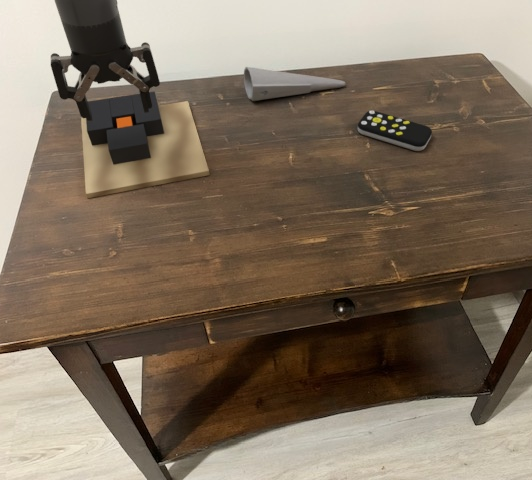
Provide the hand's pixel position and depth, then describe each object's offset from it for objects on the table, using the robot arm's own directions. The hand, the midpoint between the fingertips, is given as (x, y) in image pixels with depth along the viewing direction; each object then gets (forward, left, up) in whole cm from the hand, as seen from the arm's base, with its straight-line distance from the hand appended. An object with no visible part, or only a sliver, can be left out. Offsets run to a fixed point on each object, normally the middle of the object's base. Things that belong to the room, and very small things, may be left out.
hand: (118, 114), depth 83 cm
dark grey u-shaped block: (0, +8, -7) cm, 11 cm away
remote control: (+45, -7, -9) cm, 46 cm away
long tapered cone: (+33, +12, -9) cm, 36 cm away
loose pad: (0, +1, -7) cm, 7 cm away
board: (+2, +2, -8) cm, 9 cm away
